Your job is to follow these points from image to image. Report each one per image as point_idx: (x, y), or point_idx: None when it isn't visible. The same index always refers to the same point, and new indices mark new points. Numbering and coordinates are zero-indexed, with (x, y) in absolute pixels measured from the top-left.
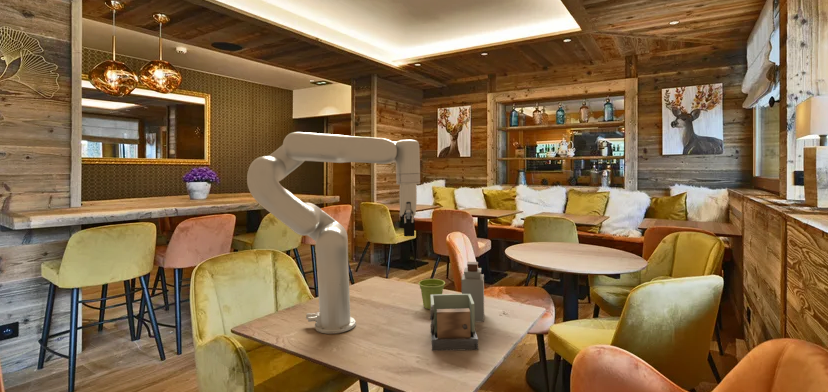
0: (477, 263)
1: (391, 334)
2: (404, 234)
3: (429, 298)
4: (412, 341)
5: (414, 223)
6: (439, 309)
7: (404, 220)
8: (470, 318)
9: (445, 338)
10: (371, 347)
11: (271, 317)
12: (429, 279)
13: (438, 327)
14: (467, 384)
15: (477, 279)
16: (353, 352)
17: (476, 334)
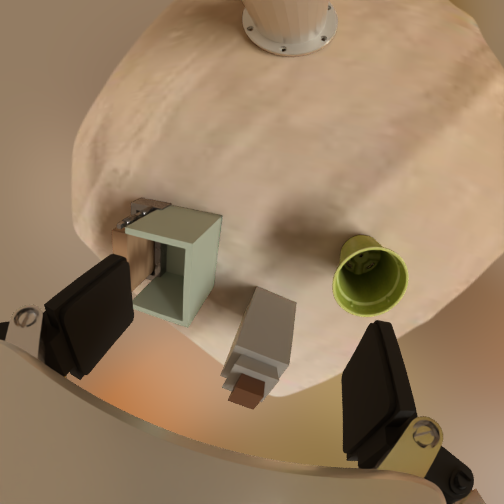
0: (238, 403)
1: (217, 130)
2: (107, 259)
3: (343, 254)
4: (178, 169)
5: (346, 423)
6: (124, 239)
7: (10, 319)
8: (165, 289)
9: None
10: (167, 93)
11: None
12: (404, 286)
13: None
14: (73, 222)
15: (227, 369)
16: (156, 66)
17: (146, 278)
